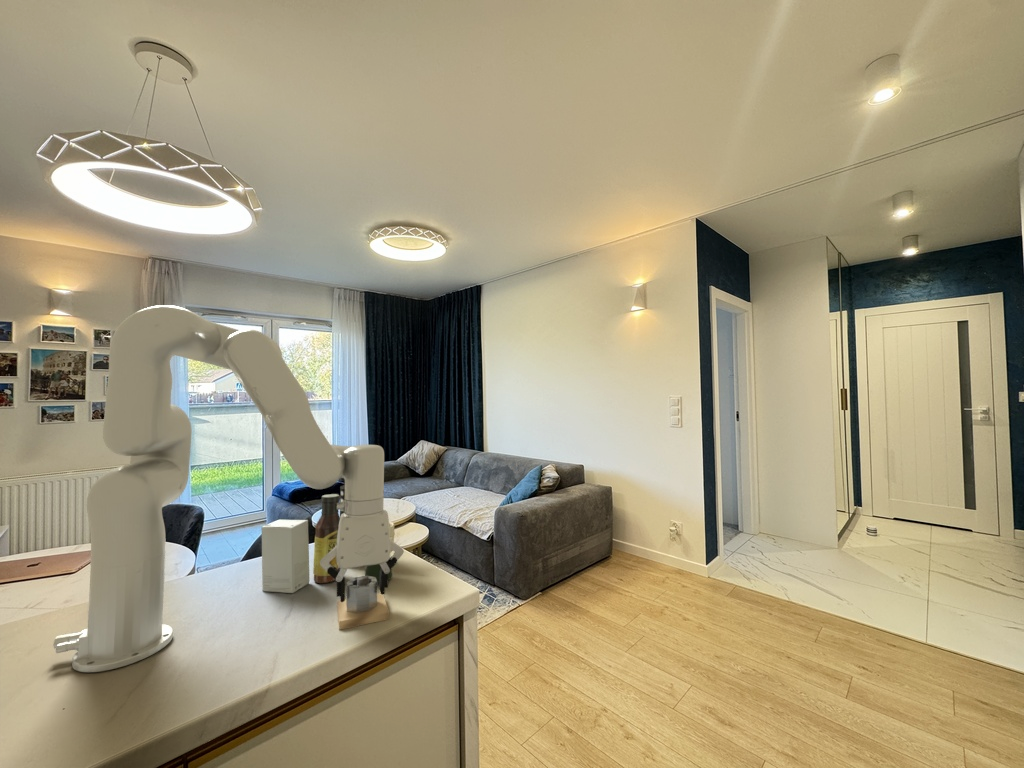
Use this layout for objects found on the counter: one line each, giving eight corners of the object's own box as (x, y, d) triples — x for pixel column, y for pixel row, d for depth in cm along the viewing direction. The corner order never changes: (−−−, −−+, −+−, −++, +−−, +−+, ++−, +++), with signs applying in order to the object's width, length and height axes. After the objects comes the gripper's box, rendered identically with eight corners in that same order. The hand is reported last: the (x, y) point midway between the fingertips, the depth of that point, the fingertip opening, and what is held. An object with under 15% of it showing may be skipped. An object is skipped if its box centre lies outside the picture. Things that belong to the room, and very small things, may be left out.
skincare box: (309, 583, 97) (311, 519, 98) (291, 595, 91) (293, 526, 92) (278, 580, 99) (280, 517, 99) (258, 591, 93) (260, 524, 93)
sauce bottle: (330, 585, 96) (332, 499, 97) (307, 583, 97) (309, 498, 98) (347, 574, 102) (349, 493, 103) (324, 572, 103) (326, 492, 104)
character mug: (404, 581, 98) (405, 526, 99) (378, 592, 93) (379, 533, 93) (378, 569, 105) (379, 518, 106) (352, 579, 100) (353, 524, 100)
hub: (347, 615, 79) (347, 590, 80) (345, 602, 85) (346, 578, 85) (378, 609, 82) (378, 584, 82) (374, 597, 87) (374, 574, 87)
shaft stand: (339, 629, 77) (339, 591, 78) (337, 608, 85) (337, 573, 86) (388, 619, 81) (389, 582, 81) (382, 599, 89) (382, 566, 90)
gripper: (317, 515, 77) (314, 613, 76) (410, 505, 85) (409, 594, 84) (317, 506, 84) (315, 595, 83) (404, 498, 91) (402, 580, 90)
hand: (362, 594), depth 83 cm, fingers open, 7 cm apart
